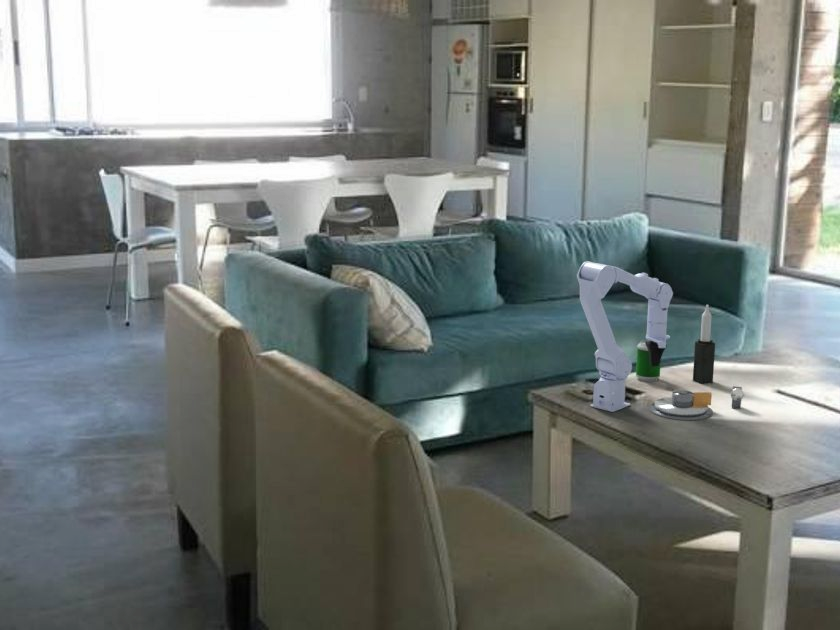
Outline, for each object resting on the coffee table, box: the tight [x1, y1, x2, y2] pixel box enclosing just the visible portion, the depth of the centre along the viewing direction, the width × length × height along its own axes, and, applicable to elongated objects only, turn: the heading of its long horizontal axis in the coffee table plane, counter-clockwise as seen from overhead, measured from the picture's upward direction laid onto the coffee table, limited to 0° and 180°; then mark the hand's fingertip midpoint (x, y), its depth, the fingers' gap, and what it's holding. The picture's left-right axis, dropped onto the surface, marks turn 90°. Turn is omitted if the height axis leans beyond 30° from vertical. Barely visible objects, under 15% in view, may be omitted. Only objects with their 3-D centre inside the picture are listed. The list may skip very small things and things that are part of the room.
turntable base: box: [648, 402, 714, 421], centre depth 306 cm, size 18×18×1 cm
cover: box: [671, 389, 694, 408], centre depth 305 cm, size 6×6×4 cm
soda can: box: [635, 340, 662, 383], centre depth 337 cm, size 8×8×12 cm
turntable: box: [654, 391, 713, 417], centre depth 306 cm, size 16×15×5 cm
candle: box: [692, 304, 716, 385], centre depth 333 cm, size 5×5×25 cm
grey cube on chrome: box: [730, 385, 745, 410], centre depth 308 cm, size 3×4×6 cm
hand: (654, 365), depth 317 cm, fingers closed
